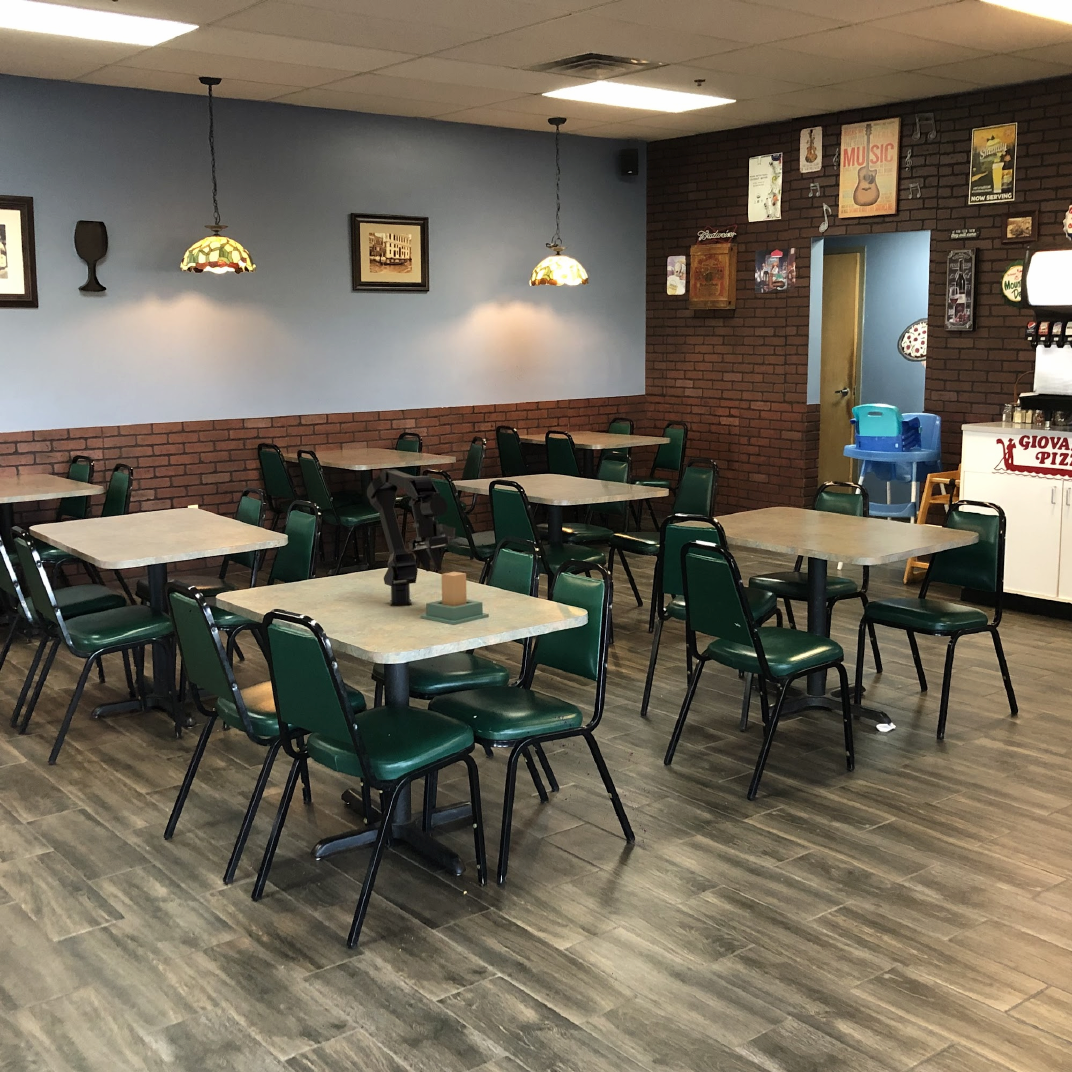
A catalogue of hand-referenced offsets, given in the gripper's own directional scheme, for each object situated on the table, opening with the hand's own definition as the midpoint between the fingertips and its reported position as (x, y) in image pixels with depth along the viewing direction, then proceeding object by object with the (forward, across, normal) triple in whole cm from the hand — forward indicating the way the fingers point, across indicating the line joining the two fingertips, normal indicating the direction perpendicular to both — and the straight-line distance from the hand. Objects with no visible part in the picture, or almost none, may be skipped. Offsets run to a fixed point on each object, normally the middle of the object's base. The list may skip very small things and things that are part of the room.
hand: (433, 570), depth 356 cm
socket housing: (+14, -7, -1) cm, 16 cm away
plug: (+13, -7, -1) cm, 15 cm away
